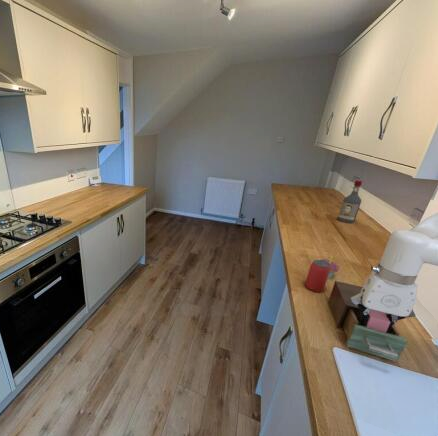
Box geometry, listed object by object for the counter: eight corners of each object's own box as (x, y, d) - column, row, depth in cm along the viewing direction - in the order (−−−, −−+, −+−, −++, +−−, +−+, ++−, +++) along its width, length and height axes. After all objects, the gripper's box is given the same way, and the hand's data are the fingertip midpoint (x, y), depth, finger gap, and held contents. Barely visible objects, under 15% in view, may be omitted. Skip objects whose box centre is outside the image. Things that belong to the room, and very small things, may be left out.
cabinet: (385, 341, 74) (397, 317, 71) (337, 327, 80) (345, 304, 76) (369, 312, 87) (378, 290, 83) (328, 301, 92) (335, 280, 89)
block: (379, 323, 72) (384, 312, 71) (385, 334, 69) (390, 322, 67) (361, 319, 74) (365, 307, 73) (365, 328, 71) (370, 317, 69)
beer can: (304, 281, 104) (311, 257, 100) (322, 286, 101) (330, 261, 97) (304, 289, 99) (312, 264, 95) (323, 294, 96) (332, 269, 91)
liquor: (340, 217, 182) (352, 179, 172) (354, 221, 176) (368, 181, 165) (336, 220, 177) (348, 180, 166) (351, 224, 170) (365, 183, 160)
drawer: (404, 374, 63) (416, 353, 61) (351, 357, 68) (360, 337, 65) (378, 328, 78) (387, 309, 76) (336, 316, 83) (343, 298, 80)
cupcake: (339, 281, 104) (348, 257, 100) (318, 278, 106) (325, 255, 102) (330, 270, 112) (337, 248, 108) (310, 268, 114) (317, 246, 110)
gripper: (360, 273, 65) (341, 324, 72) (447, 290, 58) (417, 346, 65) (353, 260, 72) (335, 309, 78) (430, 275, 65) (404, 326, 71)
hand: (373, 325), depth 71 cm, fingers closed on block, 4 cm apart
